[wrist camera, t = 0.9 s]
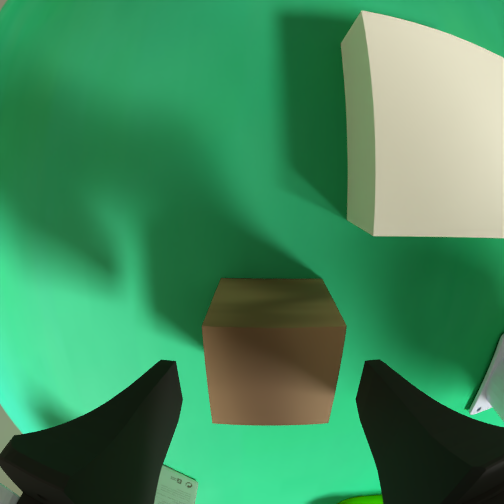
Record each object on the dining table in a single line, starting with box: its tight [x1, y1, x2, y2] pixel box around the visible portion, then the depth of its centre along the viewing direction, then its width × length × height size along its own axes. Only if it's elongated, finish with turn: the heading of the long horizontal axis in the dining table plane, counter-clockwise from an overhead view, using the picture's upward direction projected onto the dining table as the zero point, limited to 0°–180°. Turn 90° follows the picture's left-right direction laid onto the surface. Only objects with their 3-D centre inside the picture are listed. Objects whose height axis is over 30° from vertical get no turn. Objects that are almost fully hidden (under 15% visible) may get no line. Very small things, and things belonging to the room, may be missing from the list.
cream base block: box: [341, 11, 504, 238], centre depth 11 cm, size 9×9×4 cm
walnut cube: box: [202, 278, 347, 425], centre depth 13 cm, size 5×5×5 cm
